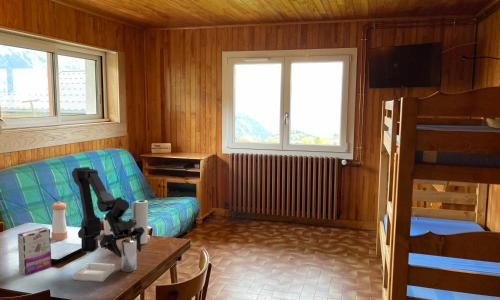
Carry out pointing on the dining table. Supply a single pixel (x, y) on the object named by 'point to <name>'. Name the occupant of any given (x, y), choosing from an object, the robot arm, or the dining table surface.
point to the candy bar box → (34, 250)
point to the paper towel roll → (141, 217)
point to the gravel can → (129, 255)
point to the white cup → (107, 227)
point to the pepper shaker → (58, 221)
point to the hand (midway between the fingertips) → (130, 254)
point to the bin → (94, 272)
